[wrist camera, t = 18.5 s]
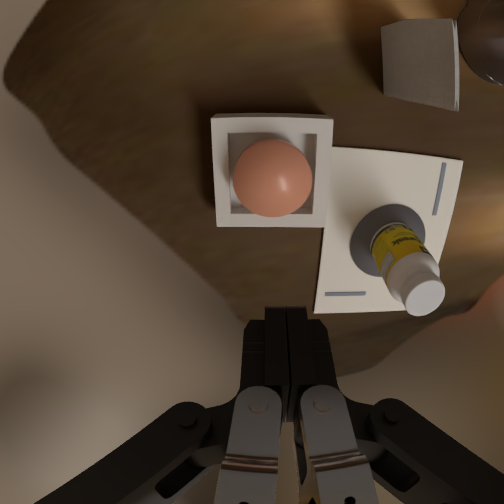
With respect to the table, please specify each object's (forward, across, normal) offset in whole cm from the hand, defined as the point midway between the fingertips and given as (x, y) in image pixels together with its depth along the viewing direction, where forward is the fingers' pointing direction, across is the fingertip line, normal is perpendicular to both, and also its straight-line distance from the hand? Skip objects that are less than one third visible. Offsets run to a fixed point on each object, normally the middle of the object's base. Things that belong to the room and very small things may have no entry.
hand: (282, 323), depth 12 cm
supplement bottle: (+20, -13, +8) cm, 26 cm away
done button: (+18, 0, 0) cm, 18 cm away
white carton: (+21, -12, -11) cm, 27 cm away
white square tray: (+21, 0, 0) cm, 21 cm away
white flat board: (+21, -13, +8) cm, 26 cm away
